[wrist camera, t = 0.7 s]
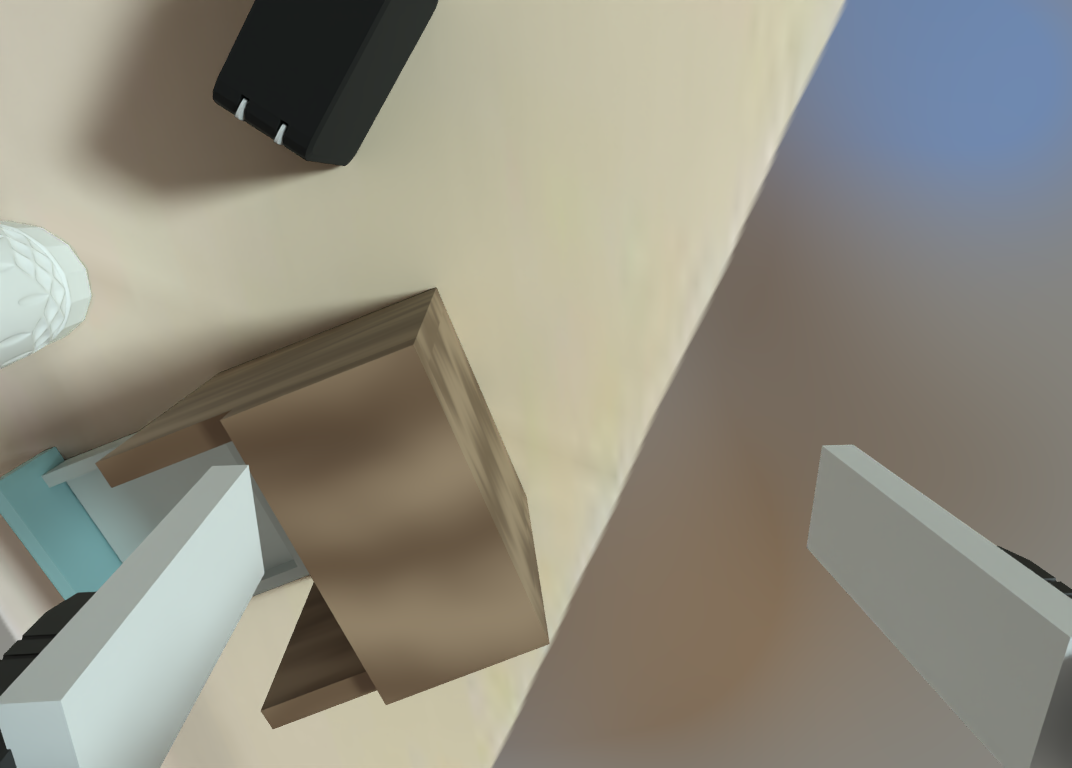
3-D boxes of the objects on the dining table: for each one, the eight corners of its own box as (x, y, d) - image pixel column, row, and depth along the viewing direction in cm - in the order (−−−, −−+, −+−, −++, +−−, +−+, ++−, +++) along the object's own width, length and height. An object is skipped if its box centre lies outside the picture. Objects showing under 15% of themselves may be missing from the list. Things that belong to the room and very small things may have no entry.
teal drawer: (43, 451, 39) (-19, 488, 34) (246, 371, 38) (213, 397, 33) (165, 628, 43) (126, 683, 38) (349, 557, 42) (333, 604, 38)
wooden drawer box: (219, 372, 38) (77, 476, 25) (436, 287, 38) (413, 344, 24) (332, 571, 43) (264, 750, 29) (526, 497, 42) (549, 643, 29)
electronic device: (442, -2, 33) (428, -76, 24) (349, 167, 35) (302, 161, 26) (371, -55, 32) (326, -154, 23) (279, 122, 34) (204, 98, 25)
